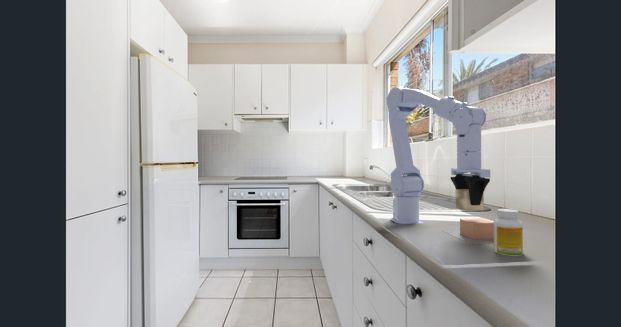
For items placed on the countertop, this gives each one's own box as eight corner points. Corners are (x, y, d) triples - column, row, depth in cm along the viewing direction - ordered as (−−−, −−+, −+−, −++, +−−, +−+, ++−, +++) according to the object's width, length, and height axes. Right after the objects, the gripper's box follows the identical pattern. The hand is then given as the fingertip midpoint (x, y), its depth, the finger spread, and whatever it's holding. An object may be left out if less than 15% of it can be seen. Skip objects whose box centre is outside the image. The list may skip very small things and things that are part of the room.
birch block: (455, 207, 86) (455, 189, 86) (472, 207, 86) (472, 189, 86) (465, 210, 81) (465, 191, 81) (483, 210, 82) (483, 190, 82)
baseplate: (442, 232, 90) (441, 230, 90) (482, 231, 91) (482, 229, 91) (471, 246, 76) (471, 243, 76) (518, 244, 77) (518, 242, 77)
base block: (460, 233, 86) (459, 218, 86) (481, 233, 86) (481, 218, 86) (473, 239, 80) (473, 223, 80) (495, 238, 80) (495, 222, 80)
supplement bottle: (528, 258, 66) (528, 212, 66) (502, 258, 66) (502, 212, 66) (512, 251, 72) (512, 208, 71) (488, 251, 72) (488, 208, 72)
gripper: (502, 151, 77) (502, 207, 77) (467, 152, 91) (468, 199, 91) (474, 151, 76) (474, 208, 76) (444, 152, 91) (444, 200, 91)
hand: (469, 203), depth 84 cm, fingers closed on birch block, 5 cm apart
